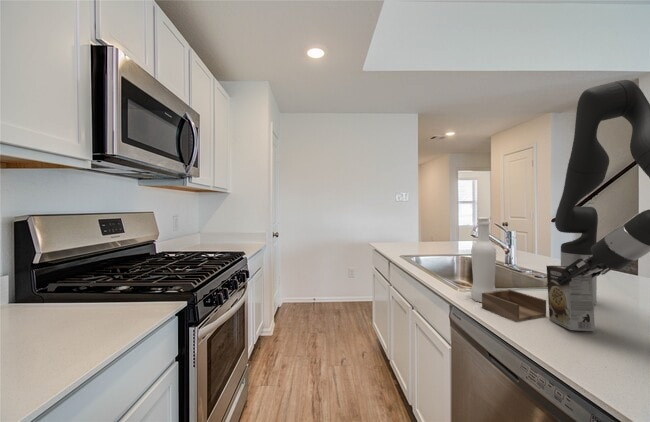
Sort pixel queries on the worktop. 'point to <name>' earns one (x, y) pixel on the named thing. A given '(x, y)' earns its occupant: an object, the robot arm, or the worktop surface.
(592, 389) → the worktop surface
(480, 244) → the bottle
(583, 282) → the coffee box
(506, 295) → the holder
